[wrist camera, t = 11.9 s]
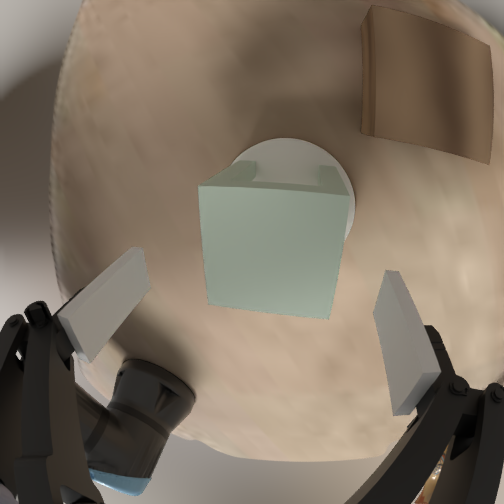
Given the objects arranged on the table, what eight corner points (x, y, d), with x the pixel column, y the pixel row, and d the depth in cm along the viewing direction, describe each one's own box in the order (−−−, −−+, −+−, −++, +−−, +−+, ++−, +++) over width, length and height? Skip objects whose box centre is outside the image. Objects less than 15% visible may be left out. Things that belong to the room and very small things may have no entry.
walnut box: (361, 133, 20) (374, 136, 15) (360, 25, 15) (371, 4, 11) (460, 154, 18) (489, 165, 13) (462, 54, 13) (489, 46, 9)
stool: (240, 245, 26) (208, 304, 18) (239, 160, 22) (197, 186, 14) (326, 253, 24) (329, 319, 17) (335, 166, 21) (350, 196, 13)
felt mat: (224, 258, 28) (221, 261, 27) (219, 136, 22) (216, 137, 22) (343, 270, 26) (344, 274, 25) (360, 144, 20) (362, 145, 19)
